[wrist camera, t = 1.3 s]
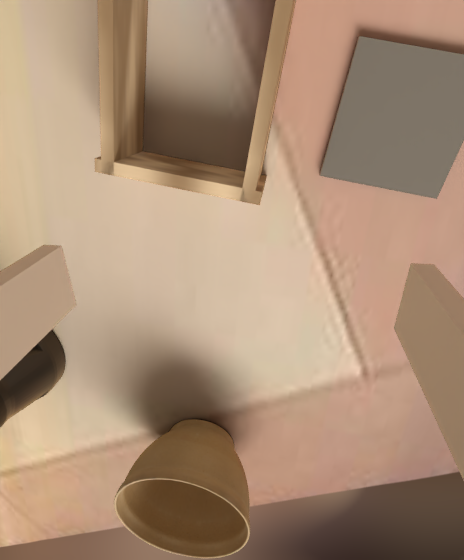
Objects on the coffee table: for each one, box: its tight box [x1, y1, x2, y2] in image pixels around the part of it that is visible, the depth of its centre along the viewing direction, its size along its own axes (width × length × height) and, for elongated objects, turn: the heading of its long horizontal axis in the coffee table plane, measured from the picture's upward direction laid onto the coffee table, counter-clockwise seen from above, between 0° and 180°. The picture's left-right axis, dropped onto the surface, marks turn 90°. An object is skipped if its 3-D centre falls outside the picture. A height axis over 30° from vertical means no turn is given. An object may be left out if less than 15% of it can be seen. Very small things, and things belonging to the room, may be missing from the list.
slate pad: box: [319, 36, 464, 199], centre depth 27 cm, size 10×10×1 cm
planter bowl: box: [114, 419, 250, 558], centre depth 45 cm, size 16×16×11 cm
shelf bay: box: [95, 0, 296, 205], centre depth 23 cm, size 13×24×6 cm, turn 171°
